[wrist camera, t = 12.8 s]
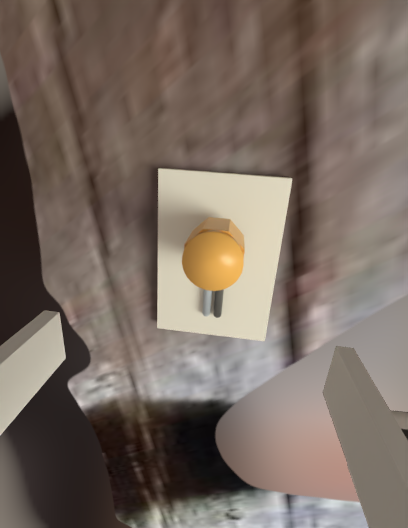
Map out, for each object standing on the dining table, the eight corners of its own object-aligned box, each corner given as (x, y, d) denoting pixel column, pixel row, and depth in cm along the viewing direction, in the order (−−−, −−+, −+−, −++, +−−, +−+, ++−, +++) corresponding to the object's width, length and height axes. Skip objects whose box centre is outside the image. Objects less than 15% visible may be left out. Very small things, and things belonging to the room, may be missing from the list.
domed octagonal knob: (193, 215, 30) (182, 230, 24) (245, 220, 29) (247, 235, 24) (191, 264, 32) (180, 287, 26) (239, 269, 31) (240, 293, 26)
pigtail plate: (161, 167, 32) (136, 172, 24) (290, 177, 31) (307, 185, 23) (160, 321, 39) (140, 364, 31) (263, 334, 38) (270, 381, 30)
